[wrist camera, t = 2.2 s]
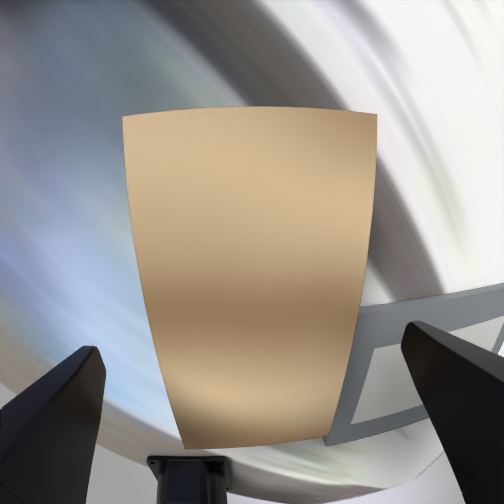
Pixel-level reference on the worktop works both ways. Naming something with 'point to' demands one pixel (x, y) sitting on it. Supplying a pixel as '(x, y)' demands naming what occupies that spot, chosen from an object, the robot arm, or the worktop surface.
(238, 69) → the worktop surface
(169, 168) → the oak stool
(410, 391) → the charcoal mat
